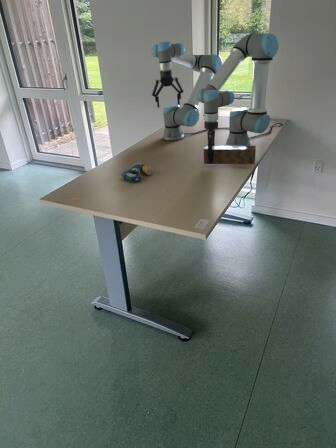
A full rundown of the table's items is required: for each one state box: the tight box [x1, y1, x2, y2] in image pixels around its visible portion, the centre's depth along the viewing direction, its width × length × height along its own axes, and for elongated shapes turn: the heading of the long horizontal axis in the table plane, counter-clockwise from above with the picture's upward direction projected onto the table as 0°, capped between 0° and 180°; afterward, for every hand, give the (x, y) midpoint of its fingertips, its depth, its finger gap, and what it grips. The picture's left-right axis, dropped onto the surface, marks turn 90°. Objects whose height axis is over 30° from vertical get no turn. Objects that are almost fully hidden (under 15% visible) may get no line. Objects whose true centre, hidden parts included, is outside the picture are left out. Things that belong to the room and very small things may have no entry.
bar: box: [203, 145, 257, 165], centre depth 189 cm, size 28×6×9 cm, turn 78°
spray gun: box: [120, 162, 154, 183], centre depth 191 cm, size 21×4×15 cm
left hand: (168, 105), depth 216 cm, fingers open, 13 cm apart
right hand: (211, 161), depth 194 cm, fingers closed on bar, 6 cm apart
